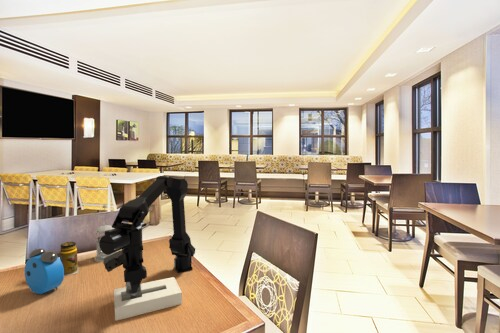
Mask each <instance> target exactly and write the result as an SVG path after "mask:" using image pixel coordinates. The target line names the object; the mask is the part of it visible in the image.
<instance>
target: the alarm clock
mask: <svg viewBox="0 0 500 333" xmlns="http://www.w3.org/2000/svg"><path fill="white" fill-rule="evenodd" d="M24 279H25V281H26V284H27V287H28V288H29V290H31V292H33V294H35V295H36V294H37V295H43V294H45V293H47V292H49V291H51V290H54V289H55V290H56V291H58V289H59V288H58V287H60V286H61V285H62V283H63V281H64V268H63V265H62V262H61V260H60V256H58V254H57V252H56V251H53V250H48V251H46V249H44V248H41V247H40V248H34V249H32V251H30V253H29V254H28V260H27V261H26V263H25V267H24Z"/></svg>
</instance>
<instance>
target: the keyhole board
mask: <svg viewBox="0 0 500 333" xmlns="http://www.w3.org/2000/svg"><path fill="white" fill-rule="evenodd" d="M113 296H114V297H113V299H114V300H113V301H114V303H113V304H114V321H116V322H117V321H122V320H124V319H128V318H132V317H136V316H139V315H143V314H149V313H151V312H155V311H159V310H163V309H167V308H171V307H175V306H178V305H182V304H183V292H182V290H181V288H180V286H179V284H178V282H177V280H176V278H175V277H174V276H172V277H168V278H161V279H156V280H151V281H147V282H141V290H140V291H139V292H137V296H140V297H139V298H134V299H130V300H127V299H128V298H129V297H130V294H128V293H126V286H123V287H118V288H114V289H113Z"/></svg>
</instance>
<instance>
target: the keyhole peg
mask: <svg viewBox="0 0 500 333" xmlns="http://www.w3.org/2000/svg"><path fill="white" fill-rule="evenodd" d="M141 284H142V282H141V283H140V286H139V288H138V290H137V292H139V291H140V290H141ZM125 287H126V293H128V294H130V297H129V298H128V299H127V300H130V299H134V298H139V297H140V296H137V292H136V293H134V294H133V293H132V289H131V285H130V282H125Z"/></svg>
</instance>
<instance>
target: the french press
mask: <svg viewBox="0 0 500 333" xmlns="http://www.w3.org/2000/svg"><path fill="white" fill-rule="evenodd" d="M102 208H103V209H107V208H108V205H106V204H104V205H102ZM106 218H107V217H106V216H104V225H101V226H99V227H97V228H96V229H95V232H96V234H95V240H96V242H95V244H96V248H95V249H96V256H95V257H94V259H93V260H94V262H97V263H103V259H104V258H106V257H107V256H110V255H112V254H114V253H116V252H114V253H112V254H110V255H106V254H104V253H103V252H102V251H101V249H100V246H99V242H100V239H101V238H102V236H104V235H105V234H104V235H101V234H103V233H105V231H107V230H112V229H114V228H112V225H110V224H107V220H106ZM98 234H99V236H97V235H98Z"/></svg>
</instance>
